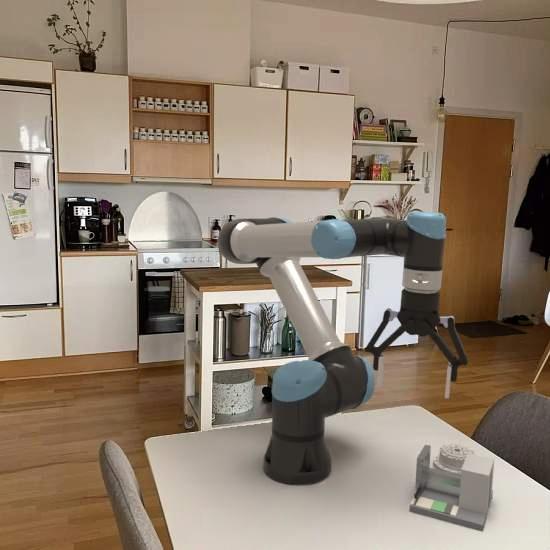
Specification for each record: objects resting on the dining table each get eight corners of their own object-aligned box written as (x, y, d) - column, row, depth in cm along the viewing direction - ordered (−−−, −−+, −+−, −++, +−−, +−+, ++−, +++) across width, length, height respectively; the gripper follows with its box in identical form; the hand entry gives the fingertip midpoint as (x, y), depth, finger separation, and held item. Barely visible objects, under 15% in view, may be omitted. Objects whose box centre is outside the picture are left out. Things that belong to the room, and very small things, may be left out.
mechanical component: (434, 476, 123) (482, 482, 121) (436, 457, 122) (484, 462, 120) (431, 456, 133) (475, 460, 131) (432, 438, 132) (477, 443, 130)
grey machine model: (411, 498, 110) (412, 464, 109) (423, 475, 119) (425, 444, 118) (467, 513, 105) (469, 478, 104) (475, 488, 114) (478, 455, 113)
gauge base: (409, 511, 109) (411, 467, 108) (426, 479, 121) (428, 440, 120) (482, 531, 103) (486, 485, 101) (492, 495, 115) (495, 454, 114)
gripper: (355, 286, 113) (349, 386, 116) (487, 299, 105) (476, 407, 108) (362, 280, 120) (356, 375, 123) (487, 292, 112) (476, 394, 115)
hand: (412, 390), depth 116 cm, fingers open, 13 cm apart
